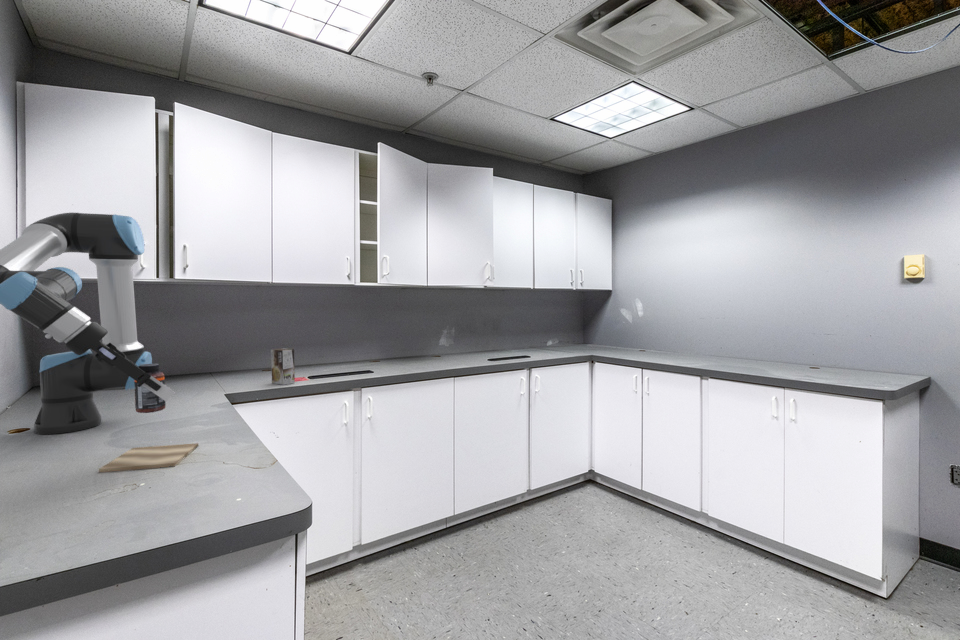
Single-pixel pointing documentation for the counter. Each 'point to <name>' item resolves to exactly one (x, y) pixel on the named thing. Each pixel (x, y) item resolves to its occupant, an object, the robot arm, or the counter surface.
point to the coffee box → (282, 366)
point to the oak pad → (149, 457)
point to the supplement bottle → (145, 397)
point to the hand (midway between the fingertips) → (168, 394)
